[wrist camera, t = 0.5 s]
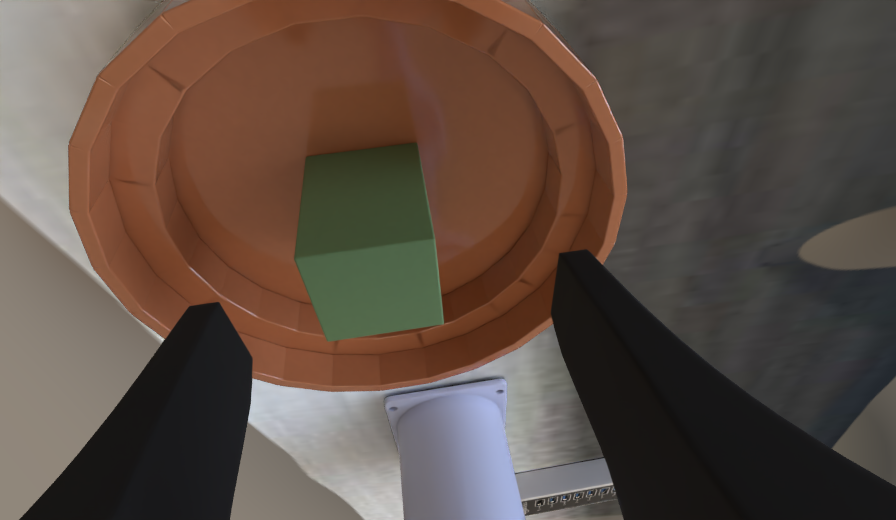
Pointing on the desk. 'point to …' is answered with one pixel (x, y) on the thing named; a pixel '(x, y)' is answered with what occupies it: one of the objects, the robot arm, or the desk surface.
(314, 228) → the green block
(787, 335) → the desk surface
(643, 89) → the desk surface
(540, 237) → the basin
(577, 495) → the multiport hub
